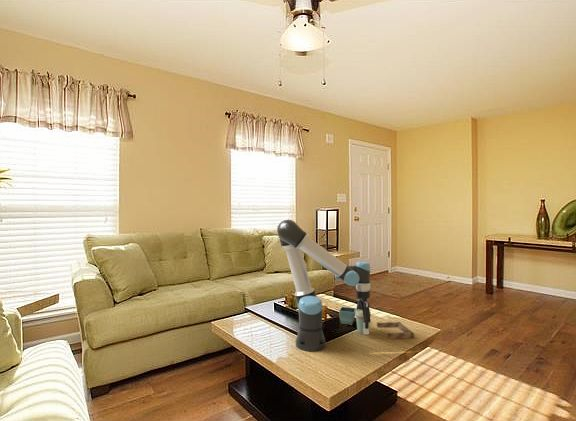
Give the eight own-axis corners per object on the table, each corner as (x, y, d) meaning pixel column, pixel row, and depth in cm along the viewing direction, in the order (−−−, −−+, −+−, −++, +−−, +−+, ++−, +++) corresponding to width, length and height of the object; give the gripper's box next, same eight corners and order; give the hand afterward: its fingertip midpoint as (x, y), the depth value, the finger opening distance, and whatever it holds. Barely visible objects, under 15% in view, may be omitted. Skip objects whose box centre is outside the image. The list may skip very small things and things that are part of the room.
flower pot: (356, 322, 193) (356, 307, 193) (354, 327, 185) (354, 312, 185) (341, 321, 196) (341, 306, 196) (338, 326, 188) (338, 310, 188)
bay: (388, 338, 169) (388, 333, 169) (376, 326, 187) (376, 322, 187) (413, 338, 170) (413, 333, 170) (399, 326, 188) (399, 321, 188)
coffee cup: (369, 330, 181) (369, 309, 181) (372, 336, 172) (372, 313, 172) (354, 329, 181) (354, 308, 182) (356, 335, 173) (356, 313, 173)
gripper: (377, 295, 166) (377, 338, 166) (363, 285, 189) (363, 323, 188) (362, 295, 165) (362, 338, 165) (350, 285, 188) (350, 323, 188)
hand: (363, 330), depth 177 cm, fingers open, 10 cm apart
